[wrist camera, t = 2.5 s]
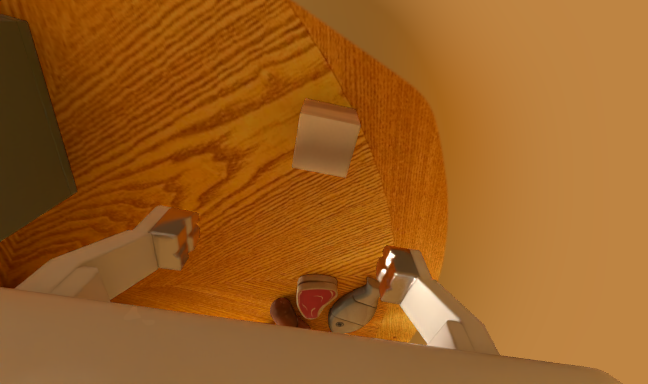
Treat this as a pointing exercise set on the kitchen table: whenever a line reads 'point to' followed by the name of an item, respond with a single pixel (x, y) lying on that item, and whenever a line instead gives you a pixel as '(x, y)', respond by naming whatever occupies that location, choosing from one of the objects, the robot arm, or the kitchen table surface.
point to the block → (325, 138)
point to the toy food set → (321, 292)
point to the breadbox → (27, 134)
